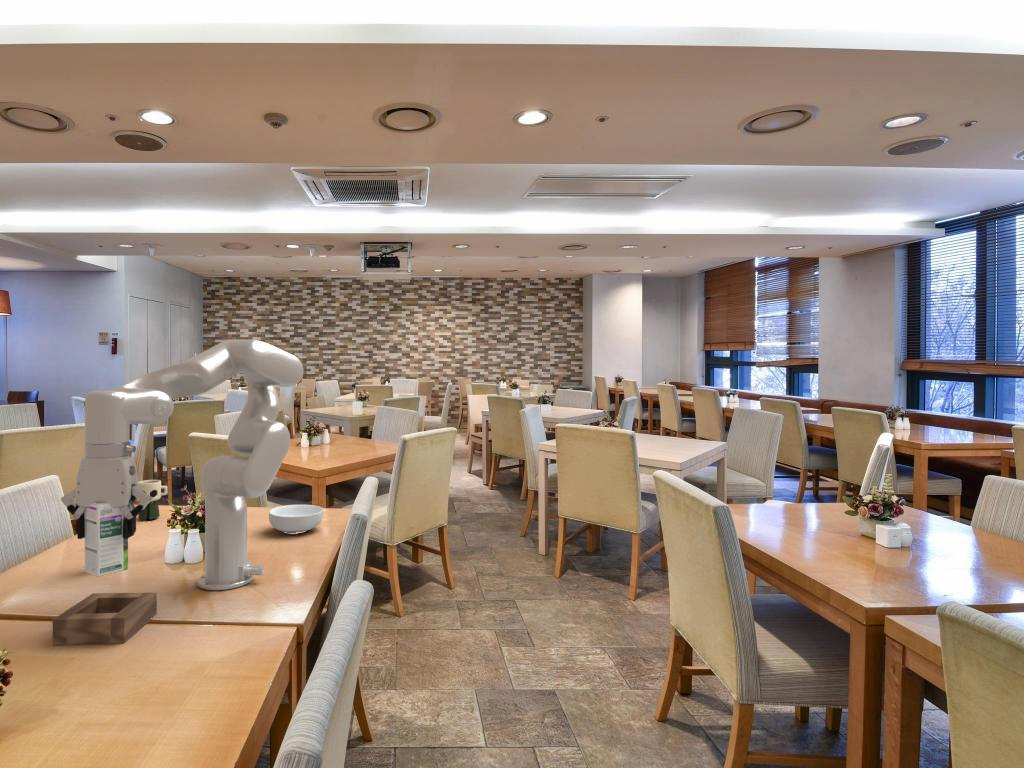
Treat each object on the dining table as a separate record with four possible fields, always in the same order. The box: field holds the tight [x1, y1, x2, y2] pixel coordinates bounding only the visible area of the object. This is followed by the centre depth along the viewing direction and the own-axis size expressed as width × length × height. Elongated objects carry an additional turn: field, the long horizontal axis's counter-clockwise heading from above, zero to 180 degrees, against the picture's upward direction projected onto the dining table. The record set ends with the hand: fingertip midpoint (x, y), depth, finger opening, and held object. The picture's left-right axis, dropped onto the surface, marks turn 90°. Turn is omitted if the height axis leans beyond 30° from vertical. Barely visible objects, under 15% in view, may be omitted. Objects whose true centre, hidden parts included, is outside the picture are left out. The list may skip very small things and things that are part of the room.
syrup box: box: [84, 503, 129, 578], centre depth 121 cm, size 6×6×14 cm
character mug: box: [137, 479, 168, 521], centre depth 204 cm, size 11×7×13 cm, turn 116°
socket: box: [52, 591, 158, 646], centre depth 122 cm, size 13×13×5 cm
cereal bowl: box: [268, 504, 324, 533], centre depth 194 cm, size 17×17×7 cm
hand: (106, 536), depth 121 cm, fingers closed on syrup box, 8 cm apart
